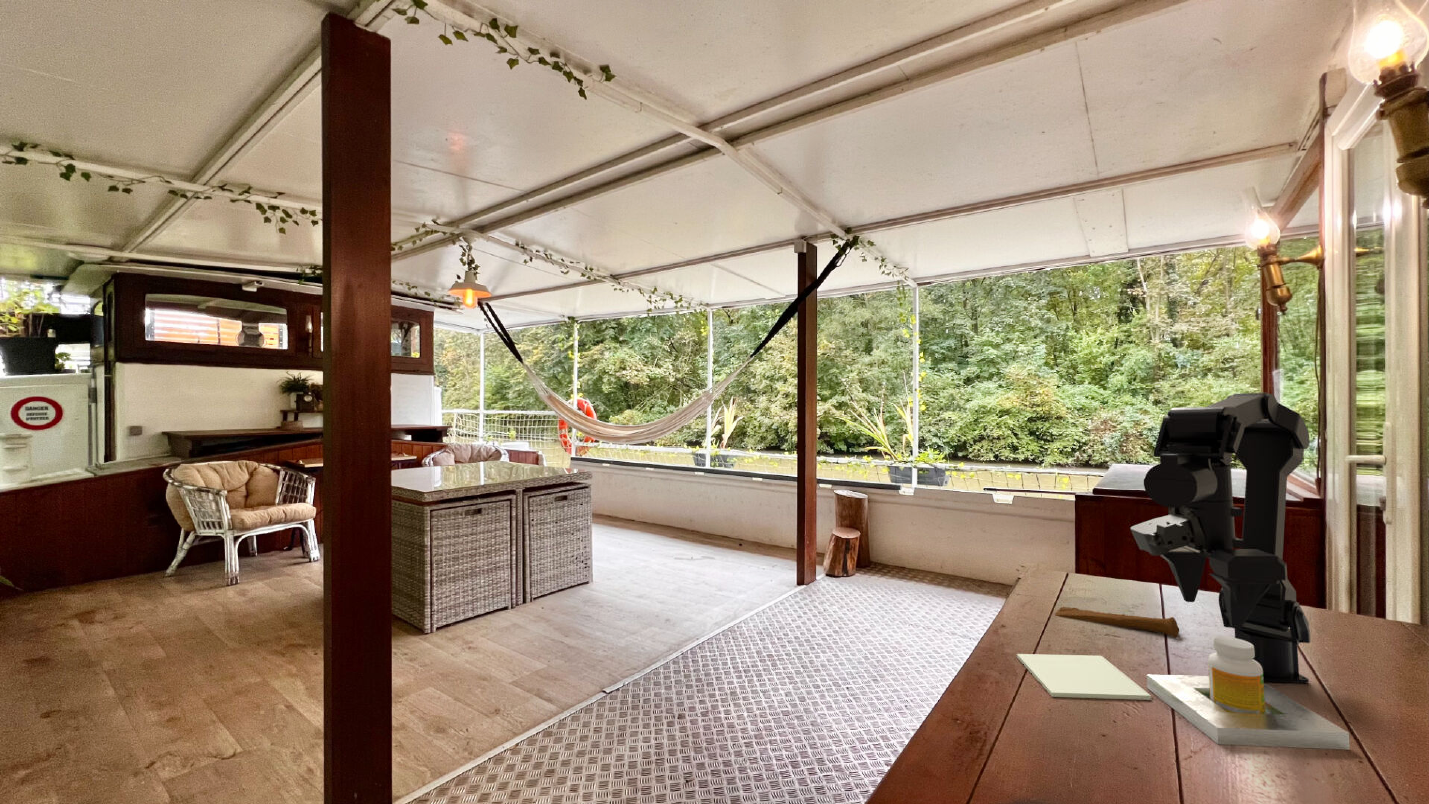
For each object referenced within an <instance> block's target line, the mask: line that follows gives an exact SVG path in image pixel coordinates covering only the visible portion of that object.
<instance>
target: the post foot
mask: <svg viewBox="0 0 1429 804" xmlns="http://www.w3.org/2000/svg"><path fill="white" fill-rule="evenodd" d="M1146 685H1147V686H1146V687H1147V689H1148V690H1149V691H1150V692H1151V693H1152V694H1154V695H1155V696H1156V697H1157V698H1159V699H1161V700H1162V701H1163V702H1164V703H1165V704H1167V705H1168V706H1169V707H1170V708H1172V709H1173V710H1174V711H1175V712H1176V713H1178V714H1179V715H1181V716H1182V717H1183V718H1185V719H1186V720H1187V721H1188V722H1189V723H1190V724H1192V725H1193V726H1194V727H1195V728H1197V729H1198V730H1200V731H1201V732H1202V733H1204V734H1205V736H1207V737H1208V738H1209V739H1211V740H1212V741H1214V743H1216V744H1217V745H1227V746H1228V745H1230V746H1231V745H1233V746H1254V747H1272V748H1273V747H1275V748H1278V747H1280V748H1298V749H1299V748H1300V749H1302V748H1303V749H1326V750H1346V751H1347V750H1349V751H1350V750H1351V748H1350V746H1351V745H1350V735H1349V734H1350V733H1349V731H1347V730H1346V729H1343V728H1341V727H1339V725H1336V724H1334V723H1333V722H1332V721H1329V720H1328V719H1326V718H1325V717H1323V716H1321V715H1319V714H1318V713H1316V712H1314V711H1313V710H1311V709H1309V708H1307V707H1306V706H1304V705H1302V704H1300V703H1299V702H1297V701H1295V700H1293V699H1292V698H1290V697H1288V696H1287V695H1285V694H1283V693H1282V692H1280V691H1278V690H1277V689H1275V688H1273V687H1272V686H1270V685H1268V684H1266V682H1264V698H1265V713H1266V714H1256V713H1228V712H1227V711H1225V710H1224V709H1222V708H1221V707H1220V706H1218V705H1217V704H1215V703H1214V702H1212V701H1211V700H1210V687H1209V675H1183V674H1182V675H1181V674H1178V675H1177V674H1146Z"/></svg>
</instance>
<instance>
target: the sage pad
mask: <svg viewBox="0 0 1429 804" xmlns="http://www.w3.org/2000/svg"><path fill="white" fill-rule="evenodd" d="M1016 658H1017V659H1018V661H1020V663H1022V665H1023V664H1024V665H1023V666H1024V667H1025V668H1026V670H1028V671H1029V672H1030V674H1031V673H1032V674H1031V675H1032V676H1033V677H1034V678H1035V679H1036V680H1037V682H1038V681H1039V682H1040V683H1041V684H1042V685H1041V684H1040V683H1039V682H1038V683H1039V684H1040V685H1041V686H1042V687H1043V688H1044V689H1045V690H1047V693H1048V694H1049V695H1050V696H1051V697H1054V698H1080V699H1081V698H1082V699H1086V698H1087V699H1112V700H1140V701H1141V700H1144V701H1145V700H1147V701H1151V700H1152V696H1151V694H1150V693H1148V692H1147V691H1146V690H1144V689H1143V688H1142V687H1141V686H1140V685H1138V684H1137V683H1136V682H1134V681H1133V680H1132V679H1131V678H1130V677H1129V676H1127V675H1126V674H1125V673H1124V672H1122V671H1121V670H1119V668H1117V667H1116V666H1115V665H1113V664H1112V663H1111V662H1110V661H1108V660H1107V659H1106V658H1105V657H1103V655H1087V654H1086V655H1084V654H1083V655H1077V654H1044V653H1043V654H1040V653H1039V654H1037V653H1035V654H1033V653H1032V654H1031V653H1030V654H1029V653H1017V654H1016Z"/></svg>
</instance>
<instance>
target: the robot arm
mask: <svg viewBox="0 0 1429 804" xmlns="http://www.w3.org/2000/svg"><path fill="white" fill-rule="evenodd" d="M1166 414H1167V415H1165V416H1164V417H1163V419H1162V421H1161V425H1160V429H1159V431H1158V432H1159V433H1158V435H1157V439H1156V443H1155V447H1154V449H1153V457H1154V458H1159V461H1160V463H1158V464H1156V465H1154V466H1152V467H1151V468H1149V469H1148V471H1147V473H1145V476H1144V479H1143V488H1144V491H1145V492H1146V494H1147V496H1148V497H1149V498H1150V499H1151V500H1152V501H1153V502H1155V503H1156V504H1158V505H1161V506H1162V507H1166V508H1168V515H1163V516H1161V517H1160V516H1159V517H1155V518H1152V519H1149V520H1147V521H1143V522H1141V523H1137V524H1135V525H1132V526H1131V527H1130V531H1131V533H1132V536H1133V538H1134V540H1135V542H1136V544H1137V546H1138V548H1139V550H1141V551H1145V552H1148V553H1149V554H1150V555H1152V556H1157V557H1158V556H1160V557H1161V558H1162V559H1164V560H1165V561H1166V562H1167V563H1168V565H1169V567H1170V569H1171V571H1172V574H1173V576H1174V579H1175V581H1176V584H1177V587H1178V588H1179V590H1180V593H1181V596H1182V598H1183V600H1184V601H1185V602H1187V603H1194V602H1195V601H1196V598H1197V595H1198V592H1199V589H1200V585H1201V582H1202V577H1203V573H1204V569H1205V566H1206V562H1207V558H1208V562H1209V566H1210V569H1211V570H1212V571H1213V572H1209V575H1210V576H1211V577H1212V578H1213V579H1214V580H1215V581H1216V582H1218V584H1220V585H1221V587H1222V588H1221V589H1220V591H1219V594H1218V605H1219V606H1218V607H1219V610H1220V615H1221V619H1222V624H1223V627H1224V628H1228V629H1229V628H1230V629H1234V638H1237V639H1241V640H1244V641H1247V642H1249V643H1251V644H1252V645H1253V646H1254V651H1255V657H1254V658H1252V659H1254V660H1255V661H1257V662H1258V663H1259V664H1260V665H1261V667H1262V669H1263V682H1265V683H1266V682H1269V683H1270V682H1271V683H1272V682H1274V683H1303V684H1304V683H1308V684H1309V682H1310V681H1309V678H1308V677H1306V676H1304V675H1302V674H1301V673H1300V667H1299V652H1298V651H1299V650H1298V645H1299V644H1302V643H1303V644H1310V643H1311V632H1310V623H1309V621H1308V619H1307V617H1306V615H1305V613H1304V610H1303V609H1302V607H1301V605H1300V603H1299V601H1297V590H1296V589H1295V588H1294V587H1293V585H1292V583H1291V582H1290V581H1289V579H1288V570H1287V569H1288V567H1287V563H1286V562H1285V561H1284V560H1283V558H1284V557H1283V556H1284V555H1283V554H1284V539H1285V537H1284V536H1285V523H1286V521H1285V520H1286V502H1287V500H1286V499H1287V484H1288V477H1289V476H1290V475H1291V474H1292V473H1293V472H1294V471H1295V470H1296V469H1297V468H1298V467H1299V466H1300V465H1301V464H1303V461H1304V454H1305V450H1307V449H1308V448H1309V445H1310V431H1309V429H1308V427H1307V425H1306V423H1305V422H1304V419H1303V417H1302V415H1301V414H1300V413H1299V412H1298V411H1297V412H1296V411H1295V410H1292V409H1291V408H1289V407H1287V406H1285V405H1283V404H1281V403H1279V402H1278V401H1277V398H1276V397H1275V395H1274V394H1273V393H1268V392H1248V393H1234V394H1232V395H1231V394H1230V395H1228V396H1227V397H1226V398H1224V399H1222V400H1219V401H1217V402H1214V403H1212V404H1209V405H1207V406H1194V407H1193V406H1191V407H1189V406H1187V407H1185V406H1184V407H1172V408H1171V409H1169V410H1168V412H1167V413H1166ZM1233 455H1235V456H1236V458H1237V459H1238V461H1239V462H1240V463H1241V465H1242V466H1243V468H1244V469H1245V470H1246V475H1245V488H1244V489H1245V491H1244V505H1243V506H1244V507H1243V508H1240V507H1237V506H1234V500H1233V499H1234V496H1233V481H1232V466H1231V463H1232V462H1233V458H1232V456H1233ZM1235 517H1237V518H1238V517H1242V533H1241V538H1238V537H1236V530H1235V529H1236V528H1235Z"/></svg>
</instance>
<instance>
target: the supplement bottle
mask: <svg viewBox="0 0 1429 804" xmlns="http://www.w3.org/2000/svg"><path fill="white" fill-rule="evenodd" d="M1213 648H1214V651H1215V652H1212V653H1210V654H1209V655H1208V657H1207V658H1208V660H1207V666H1208V667H1207V668H1208V676H1209V687H1210V700H1211V701H1212V702H1214V703H1215V704H1217V705H1218V706H1220V707H1221V708H1222V709H1224V710H1225V711H1227V712H1228V713H1256V714H1266V713H1265V698H1264V683H1265V681H1263V669H1262V667H1261V665H1260V664H1259V663H1258V662H1257V661H1255V660H1254V659H1252V658H1254V657H1255V651H1254V646H1253V645H1252V644H1251V643H1249V642H1247V641H1244V640H1241V639H1237V638H1235V637H1232V636H1215V637H1214V638H1213Z"/></svg>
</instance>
